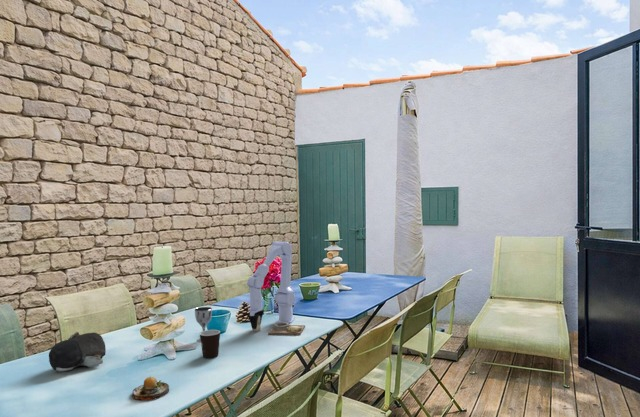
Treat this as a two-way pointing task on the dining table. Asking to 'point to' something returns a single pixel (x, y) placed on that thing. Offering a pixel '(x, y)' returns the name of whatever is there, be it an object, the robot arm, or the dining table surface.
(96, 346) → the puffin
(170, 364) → the dining table surface
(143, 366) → the dining table surface
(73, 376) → the dining table surface
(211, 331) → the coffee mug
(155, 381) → the brimmed hat
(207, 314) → the wine glass
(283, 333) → the plate
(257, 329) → the planet hub
